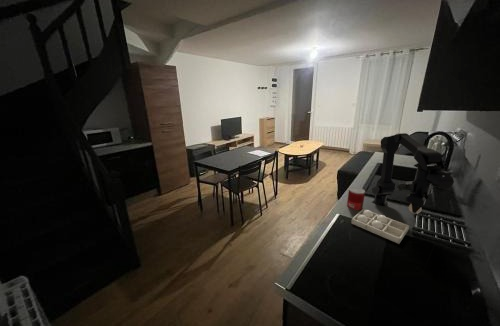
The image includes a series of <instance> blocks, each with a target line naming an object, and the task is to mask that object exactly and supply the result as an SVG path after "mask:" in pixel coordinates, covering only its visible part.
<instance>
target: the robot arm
mask: <svg viewBox="0 0 500 326" xmlns="http://www.w3.org/2000/svg"><path fill="white" fill-rule="evenodd" d="M400 145H402V146H403V147H404V148H405V149H407V150H408V151H409V152H410V153H411V154H412V155H413V159H414V160H415V162H416V163H415V164H414V165H413V167H416V173H415V178H414V179H413V180H412V181H410V180H409V181H408V180H407V181H404V180H403V181H399V182H398V183H397V184H396V182H394V181H393V179H392V177H393V169H394V161H395V154H396V152H397V151H398V150H399V149H400ZM380 149H381V150H382V152H383V156H382V162H381V163H382V166H381V174H380V177H379V179H378V180H377V182H376V185H375V186H374V187H372V188H371V193H373V195H374V199H373V200H372V201H371V203H372V204H375V205H377V206H381V207H385V206H386V205H388V202H387V198H388V196H392V195H393V193H394V192H395V191H396V189H398V191H400V192H403V191H409V193H408V194H407V195H406V197H405V202H406V203H410V204H412V212H413V214H417V213H416V212H417V211H418V210H419V209H420V208H422V207H423V206H425V204H426V201H427V200H428V199H429V197H430V196H431V194H432V193H433V190H434V189H433V188H432V186H435V187H437V188H439V189H442V190H447V189H450V188H451V187H452V186H453V185H454V183H455V180H454V177H453V176H451V174H452V173H451V172H449V171H447V170H446V167H445V166H446V165H445V163H444V161H443V157H442V154H441V153H440V152H439V151H436V150H434V149H432V148H428V147H426V146H424V145H422V144H421V143H420V142H418V141H417V140H415V139H414V138H413V137H411V135H409V133H405V132H403V133H396V134H394V135H389V136H384V137H382V138H381V140H380ZM396 185H397V188H396ZM412 212H411V213H412Z"/></svg>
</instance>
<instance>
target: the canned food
mask: <svg viewBox="0 0 500 326" xmlns="http://www.w3.org/2000/svg"><path fill="white" fill-rule="evenodd" d="M365 196H366V190H365V189H364V188H361V187H355V186H353V187H350V188H349V189H348V193H347V202H346V206H347V208H349V209H352V210H353V211H354V210H355V211H361V210H362V209H363V205H364V203H365V201H364V200H365Z"/></svg>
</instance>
